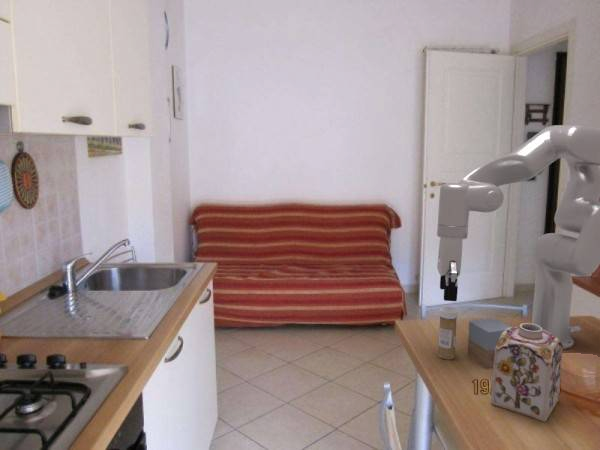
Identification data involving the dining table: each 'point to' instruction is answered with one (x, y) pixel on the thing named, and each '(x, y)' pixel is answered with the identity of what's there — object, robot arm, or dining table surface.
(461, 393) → the dining table surface
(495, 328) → the slate top block
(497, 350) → the decorative jar
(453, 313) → the sprinkles bottle
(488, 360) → the walnut base block
